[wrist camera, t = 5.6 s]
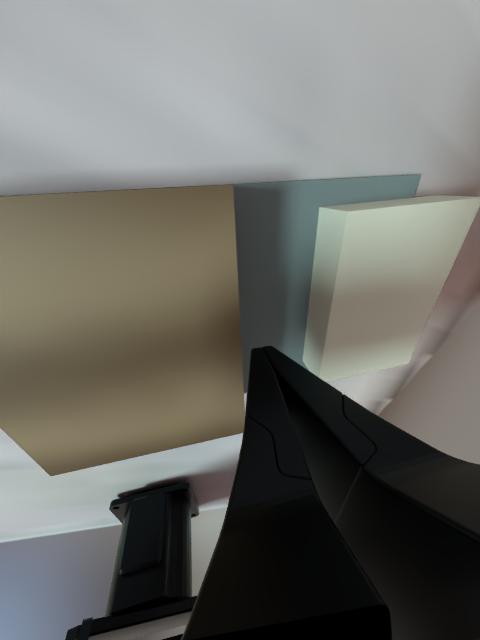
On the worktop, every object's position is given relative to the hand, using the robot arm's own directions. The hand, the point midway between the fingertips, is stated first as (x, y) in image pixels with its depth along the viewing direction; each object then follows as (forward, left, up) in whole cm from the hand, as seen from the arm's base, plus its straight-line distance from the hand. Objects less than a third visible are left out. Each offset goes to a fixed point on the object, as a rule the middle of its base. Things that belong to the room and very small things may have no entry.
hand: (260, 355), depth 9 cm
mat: (0, -4, -4) cm, 5 cm away
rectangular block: (0, -7, -1) cm, 7 cm away
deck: (0, +6, -4) cm, 7 cm away
